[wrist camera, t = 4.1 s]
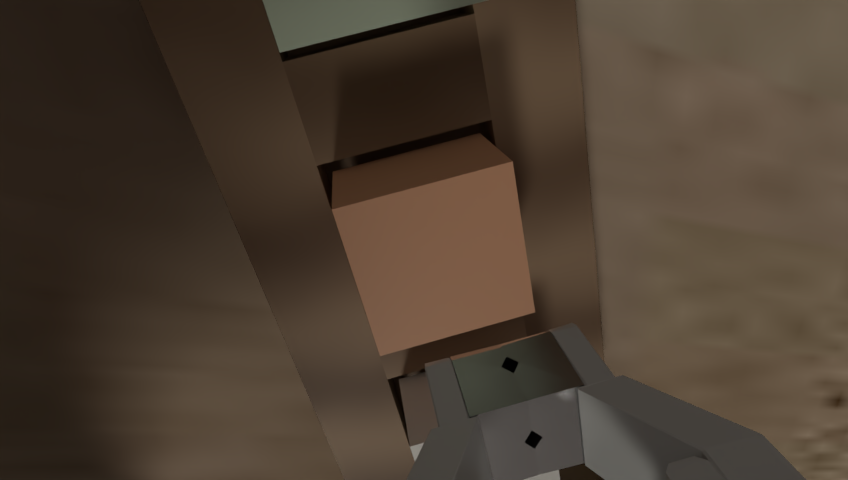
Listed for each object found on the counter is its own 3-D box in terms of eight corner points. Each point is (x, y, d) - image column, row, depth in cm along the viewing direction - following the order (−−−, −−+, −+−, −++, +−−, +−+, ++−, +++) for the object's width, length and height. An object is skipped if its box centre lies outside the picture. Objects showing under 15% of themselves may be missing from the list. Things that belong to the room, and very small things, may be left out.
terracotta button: (502, 261, 19) (535, 312, 16) (372, 297, 19) (380, 356, 15) (479, 133, 17) (512, 161, 14) (332, 171, 16) (331, 209, 13)
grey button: (531, 431, 23) (563, 499, 20) (425, 463, 23) (439, 537, 19) (516, 345, 21) (549, 406, 17) (398, 379, 20) (409, 446, 17)
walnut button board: (582, 394, 26) (610, 438, 23) (356, 460, 25) (358, 513, 23) (510, -266, 15) (549, -328, 12) (101, -174, 14) (45, -217, 11)
